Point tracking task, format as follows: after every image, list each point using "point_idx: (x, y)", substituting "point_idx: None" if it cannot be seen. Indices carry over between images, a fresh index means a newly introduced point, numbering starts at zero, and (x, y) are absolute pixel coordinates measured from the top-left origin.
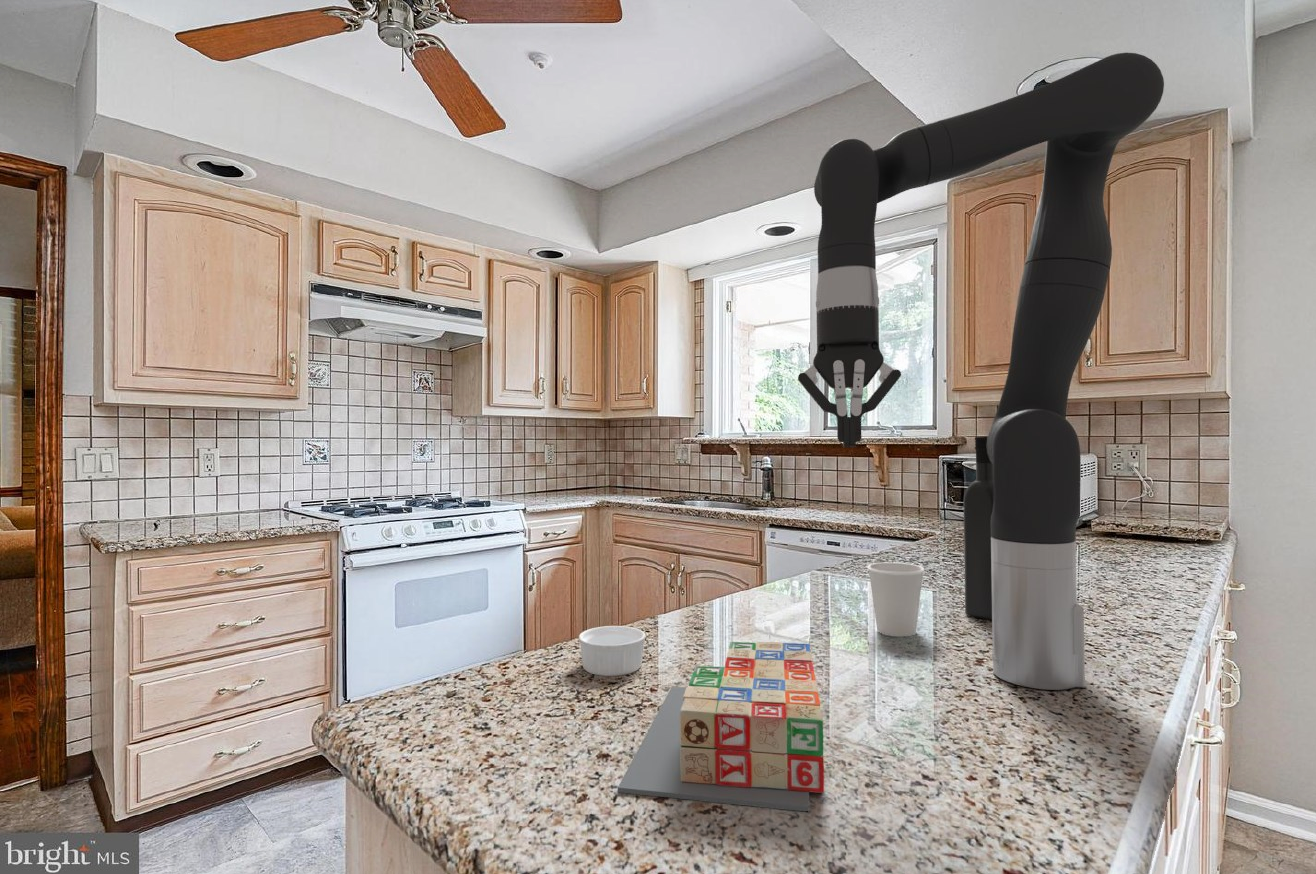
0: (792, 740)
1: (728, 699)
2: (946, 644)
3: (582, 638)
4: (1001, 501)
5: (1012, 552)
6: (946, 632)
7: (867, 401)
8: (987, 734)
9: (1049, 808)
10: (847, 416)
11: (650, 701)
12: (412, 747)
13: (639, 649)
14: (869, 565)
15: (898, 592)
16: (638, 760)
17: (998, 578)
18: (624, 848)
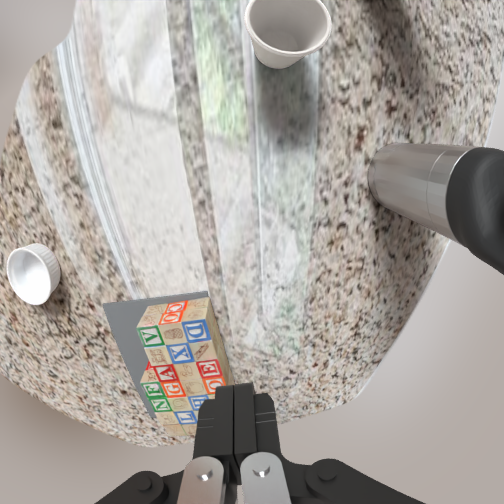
0: None
1: (185, 423)
2: (332, 85)
3: (14, 285)
4: (481, 259)
5: (448, 235)
6: (333, 40)
7: (320, 500)
8: (337, 309)
9: (344, 377)
10: (236, 482)
11: (101, 326)
12: (49, 395)
13: (53, 278)
14: (248, 14)
15: (289, 59)
16: (144, 399)
17: (419, 209)
18: (176, 439)
